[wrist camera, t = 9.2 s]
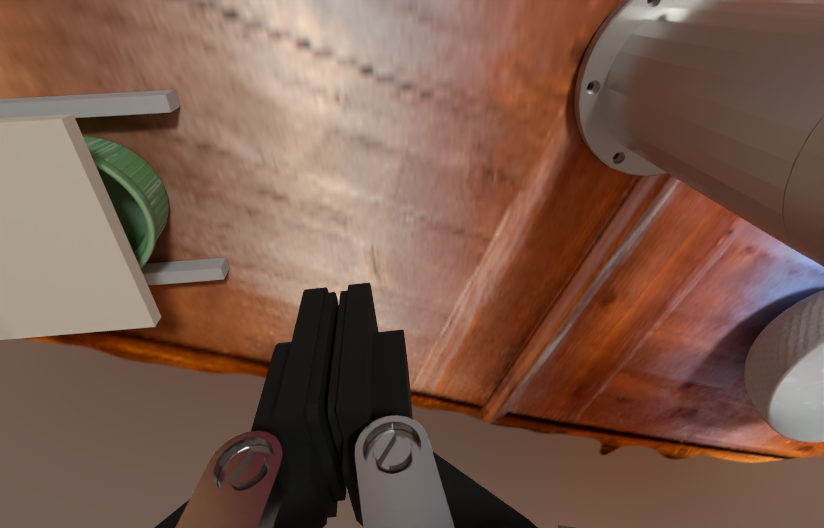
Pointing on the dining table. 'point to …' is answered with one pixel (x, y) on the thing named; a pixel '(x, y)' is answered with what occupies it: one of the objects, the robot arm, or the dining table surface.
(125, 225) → the ramekin
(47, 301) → the overhang shelf
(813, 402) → the cereal bowl
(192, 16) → the dining table surface
